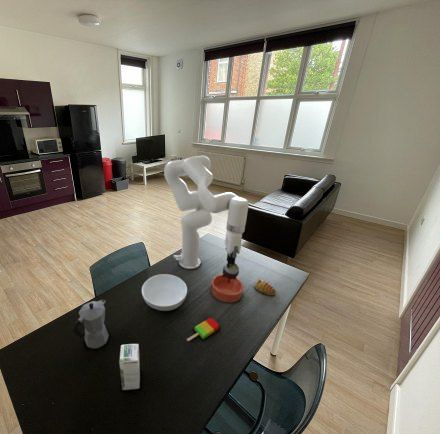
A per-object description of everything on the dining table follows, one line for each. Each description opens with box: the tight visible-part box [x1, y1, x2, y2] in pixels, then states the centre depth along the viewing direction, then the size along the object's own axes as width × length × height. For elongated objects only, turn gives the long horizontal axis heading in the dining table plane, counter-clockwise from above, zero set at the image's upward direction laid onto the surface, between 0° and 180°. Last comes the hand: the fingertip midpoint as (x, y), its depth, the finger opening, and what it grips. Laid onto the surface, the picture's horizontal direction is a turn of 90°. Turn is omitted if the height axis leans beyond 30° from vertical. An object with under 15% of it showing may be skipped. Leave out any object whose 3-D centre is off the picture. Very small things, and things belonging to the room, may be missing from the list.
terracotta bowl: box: [210, 273, 244, 304], centre depth 116 cm, size 15×15×5 cm
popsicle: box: [186, 317, 220, 342], centre depth 96 cm, size 6×15×2 cm, turn 123°
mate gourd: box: [222, 247, 240, 283], centre depth 109 cm, size 8×8×15 cm
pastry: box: [254, 278, 277, 296], centre depth 117 cm, size 9×7×4 cm
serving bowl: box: [141, 273, 188, 312], centre depth 111 cm, size 21×21×7 cm
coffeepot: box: [71, 299, 110, 349], centre depth 89 cm, size 15×9×18 cm, turn 147°
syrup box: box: [119, 343, 141, 391], centre depth 76 cm, size 6×6×14 cm
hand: (230, 262), depth 109 cm, fingers closed on mate gourd, 1 cm apart
